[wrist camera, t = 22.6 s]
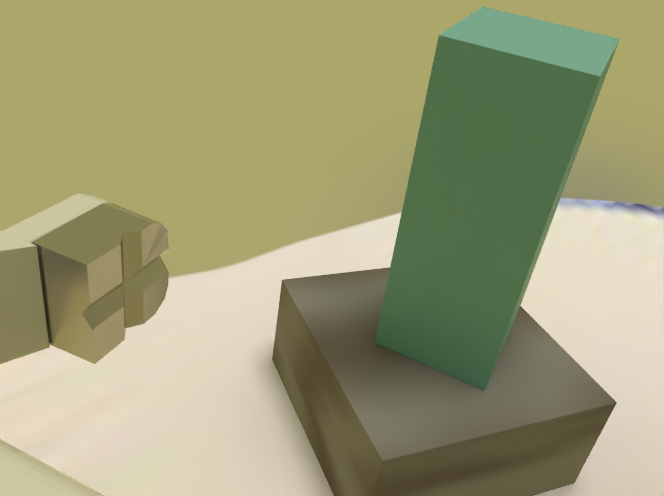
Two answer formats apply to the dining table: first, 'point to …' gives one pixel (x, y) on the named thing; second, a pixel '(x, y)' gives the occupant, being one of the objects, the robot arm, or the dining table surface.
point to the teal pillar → (486, 184)
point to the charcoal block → (428, 402)
